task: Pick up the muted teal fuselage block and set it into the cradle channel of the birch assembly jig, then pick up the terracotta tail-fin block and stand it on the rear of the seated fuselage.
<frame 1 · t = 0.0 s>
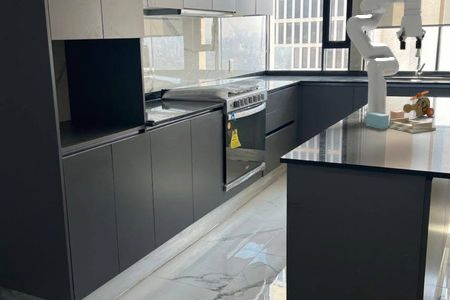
hand: (410, 49, 244), 37 cm above the countertop, tool pointing down, fingers open, 9 cm apart
fuselage: (376, 127, 245), on the countertop
toy helicopter: (417, 117, 267), on the countertop
jig: (410, 128, 238), on the countertop
tail fin: (396, 123, 253), on the countertop
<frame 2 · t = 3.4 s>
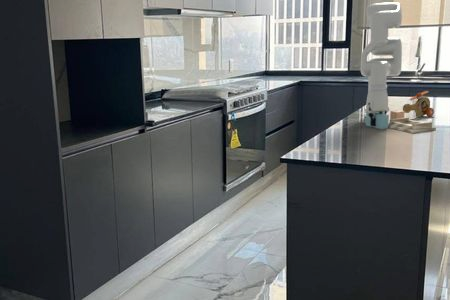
hand: (376, 125, 245), 1 cm above the countertop, tool pointing down, fingers closed on fuselage, 4 cm apart
fuselage: (376, 126, 245), on the countertop, touching gripper
everything else where it was.
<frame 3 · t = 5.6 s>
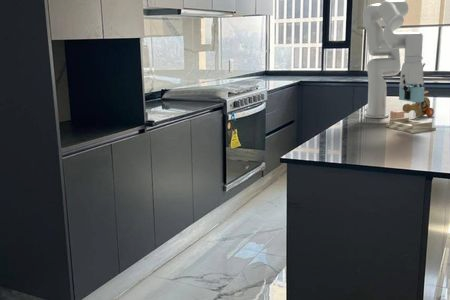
hand: (411, 98, 234), 14 cm above the countertop, tool pointing down, fingers closed on fuselage, 4 cm apart
fuselage: (411, 100, 235), point 13 cm above the countertop, touching gripper
everything else where it was.
when the fingers open (3 cm above the countertop, at t = 7.6 s): fuselage drops 1 cm, resting on jig.
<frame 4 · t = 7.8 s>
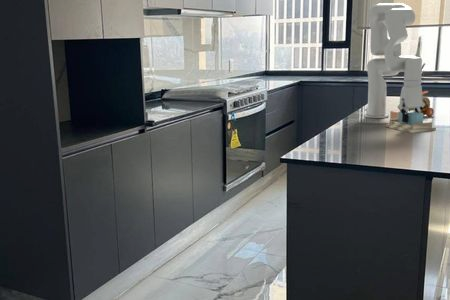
hand: (410, 121, 237), 4 cm above the countertop, tool pointing down, fingers open, 6 cm apart
fuselage: (410, 125, 237), point 1 cm above the countertop, touching jig
everything else where it was.
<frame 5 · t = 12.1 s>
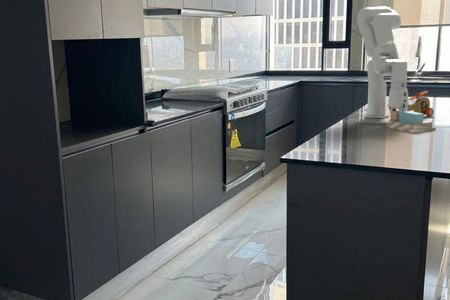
hand: (397, 121, 253), 1 cm above the countertop, tool pointing down, fingers closed on tail fin, 4 cm apart
tail fin: (396, 122, 253), on the countertop, touching gripper
everything else where it was.
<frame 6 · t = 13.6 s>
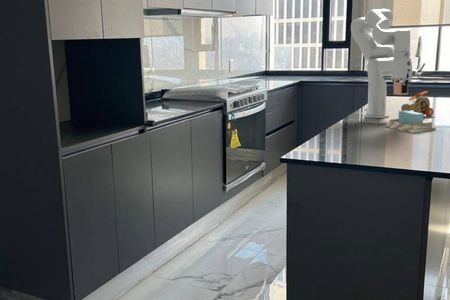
hand: (400, 92, 246), 16 cm above the countertop, tool pointing down, fingers closed on tail fin, 4 cm apart
tail fin: (400, 94, 246), point 15 cm above the countertop, touching gripper
everything else where it was.
when the fingers open (9 cm above the countertop, at t = 15.5 s): tail fin stays where it is, resting on fuselage.
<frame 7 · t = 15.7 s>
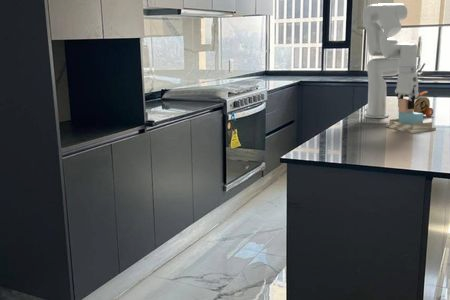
hand: (405, 107, 239), 10 cm above the countertop, tool pointing down, fingers open, 6 cm apart
fuselage: (410, 125, 237), point 1 cm above the countertop, touching jig, tail fin
tail fin: (405, 111, 239), point 8 cm above the countertop, touching fuselage
everything else where it was.
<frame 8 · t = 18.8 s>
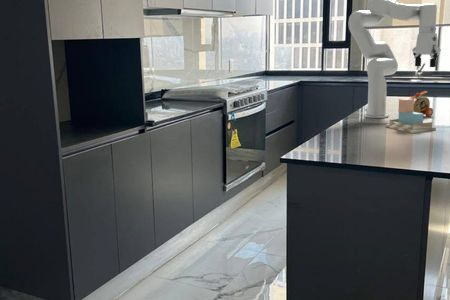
hand: (425, 66, 241), 28 cm above the countertop, tool pointing down, fingers open, 9 cm apart
nothing on the countertop moved.
at the end: fuselage 0.1 cm off-centre on the jig, point 1.2 cm above the jig's base; tail fin 0.1 cm from the target spot on the fuselage, point 6.5 cm above the fuselage's base; tail fin tilted 0° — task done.
